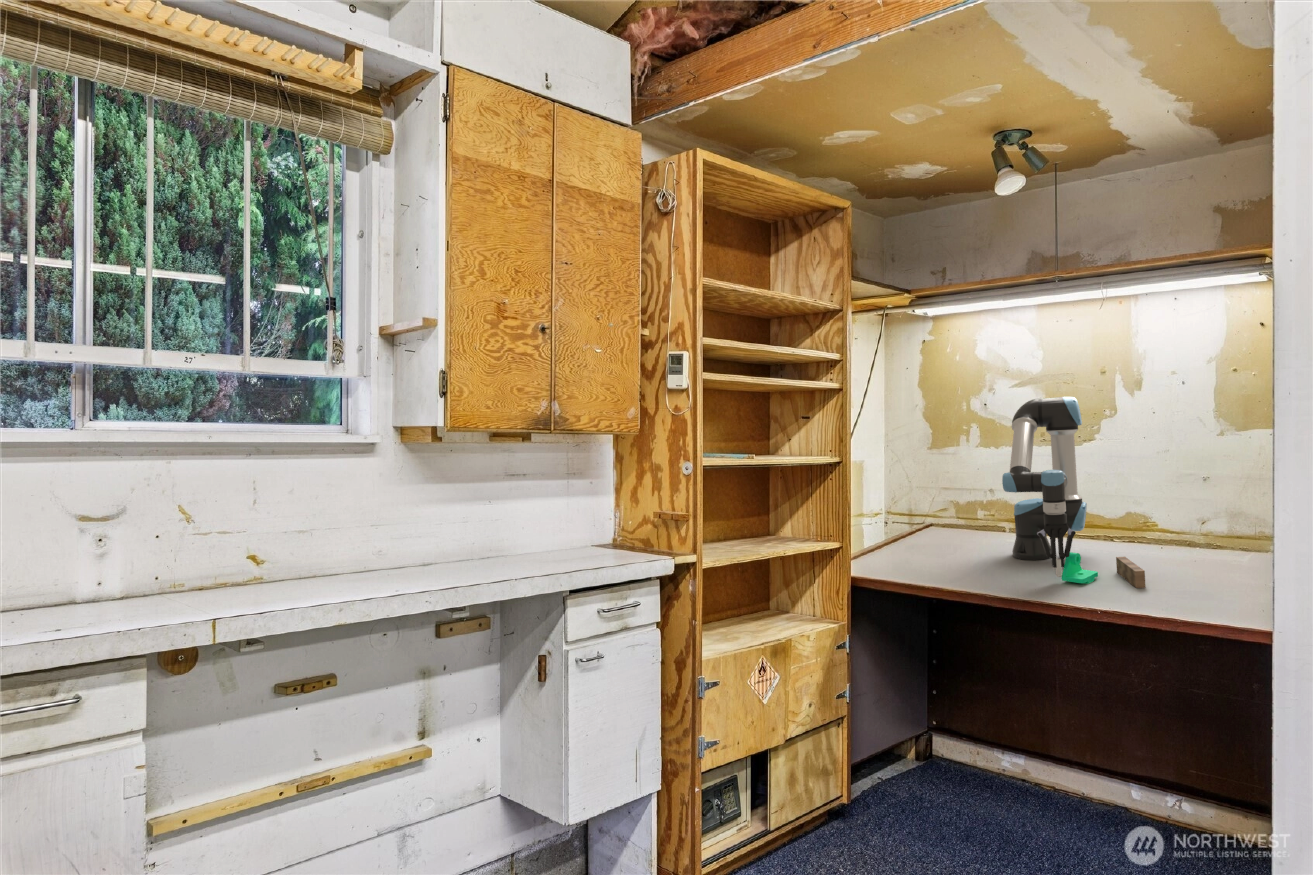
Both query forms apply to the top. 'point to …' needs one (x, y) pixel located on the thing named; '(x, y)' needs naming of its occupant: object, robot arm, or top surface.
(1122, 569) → the block
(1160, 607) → the top surface
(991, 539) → the top surface
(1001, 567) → the top surface
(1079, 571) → the camera mount
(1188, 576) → the top surface
